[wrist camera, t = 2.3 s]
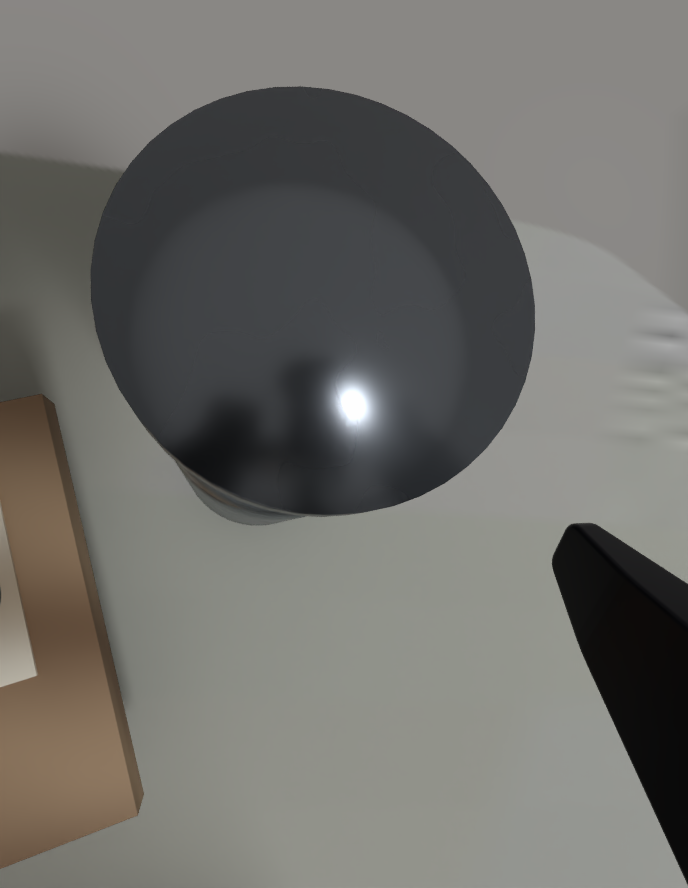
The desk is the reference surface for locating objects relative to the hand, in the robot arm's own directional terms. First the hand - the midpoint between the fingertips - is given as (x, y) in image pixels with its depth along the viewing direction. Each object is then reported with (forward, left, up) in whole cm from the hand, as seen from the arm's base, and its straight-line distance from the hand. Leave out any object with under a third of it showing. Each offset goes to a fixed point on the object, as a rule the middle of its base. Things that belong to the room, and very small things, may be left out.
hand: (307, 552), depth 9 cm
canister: (+3, -1, -10) cm, 11 cm away
